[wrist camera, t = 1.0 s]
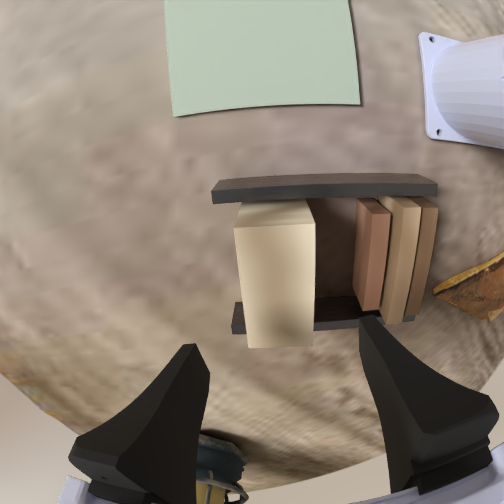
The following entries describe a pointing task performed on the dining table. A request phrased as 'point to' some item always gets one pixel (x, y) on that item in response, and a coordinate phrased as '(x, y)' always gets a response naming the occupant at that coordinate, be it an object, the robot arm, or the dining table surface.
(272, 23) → the rubber mat
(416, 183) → the rack
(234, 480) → the lantern
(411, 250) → the offcut stack
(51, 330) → the dining table surface
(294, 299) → the birch block
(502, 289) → the shard
